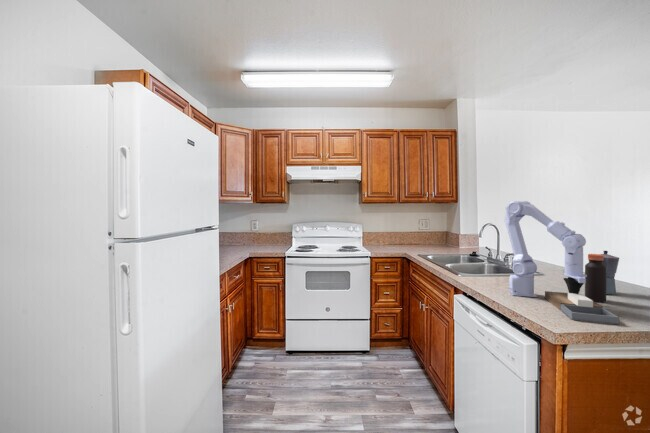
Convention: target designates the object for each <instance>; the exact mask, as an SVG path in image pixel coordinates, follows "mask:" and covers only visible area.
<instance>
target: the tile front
mask: <svg viewBox="0 0 650 433" xmlns="http://www.w3.org/2000/svg"><path fill="white" fill-rule="evenodd" d="M573 303H574V304H576V305H577V306H582V307H593V301H592V300H591V299H589V298H587V297H577V296H573Z"/></svg>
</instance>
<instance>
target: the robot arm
mask: <svg viewBox="0 0 650 433" xmlns="http://www.w3.org/2000/svg"><path fill="white" fill-rule="evenodd" d="M505 211H506V212H505V216H504V222H505V226H506V229H507V230H506V231H507V234H508V238H509V241H510V244H511V248H512V252H513V255H514V256H513V258H512V260H511V262H512V271H513V273H514V274H510V275H509V278H508V279H509V284H508V285H509V288H508V289H509V290H508V291H509V292H510V294H511V295H512V296H518V297H530V298H531V297H532V298H538V295H536V294H535V274H536V272H537V270H538V266H537V264H536V263H535V261H534V259H533V257H532V256H531V255H530V254H529V253H528V250H527V246H526V243H525V239H524V236H523V233H522V229H521V225H520V221H521V220H522V219H523V218H524V217H525V216H528V217H531V218H533V219H534V220H536V221H537V222H539V223H541V224H542V225H543V226H545V227H546V229H547V232H548V233H550V234H551V235H552V236H554V237H555V238H556V239H558V240H559V241H560V242H561V244H562V246H563V247H564V270H562V271H563V274H562V275H563V276H565V277H563V278H562V279H563V281H564V283H565V285H566V287H567V290H568V293H575V294H580V290H581V288H582V287H583V285H585V283H586V278H585V277H587V275H585V273H584V246H585V245H586V244H587V240H586V238H585V236H584V235H583V234H581V233H576V231H575V230H572V229H570V228H569V227H567V226H566V223H565V222H563V221H561V222H560V221H554V220H552V218H550V217H549V216H547V215H546V214H545V213H544V212H542V211H541V210H540V209H539V208H537V207H536V206H535V205H534V204H531V202H529V201H528V200H524V201H523V200H521V201H520V200H519V201H518V200H512V201H510V202H509V203H508V204H507V206H506V207H505Z"/></svg>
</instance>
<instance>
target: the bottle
mask: <svg viewBox="0 0 650 433" xmlns="http://www.w3.org/2000/svg"><path fill="white" fill-rule="evenodd" d="M600 254H601V253H600ZM600 254H599V253H588V254H587V260H588V262H587V263H586V264H585V265H584V274H585V275H587V277H584V278H586V283H584V296H586V297H587V298H589V299H591V300H592V301H594V302H596V303H606V302H607V294H606V279H607V267H606V266H605V265H604V264H603V260H604V255H600Z"/></svg>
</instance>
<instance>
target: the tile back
mask: <svg viewBox="0 0 650 433" xmlns="http://www.w3.org/2000/svg"><path fill="white" fill-rule="evenodd" d="M567 293H568V299H569V300H570V301H571V302H573V296H577V297H586V296H585V294H582V293H579V294H575V293H569V292H567Z"/></svg>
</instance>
